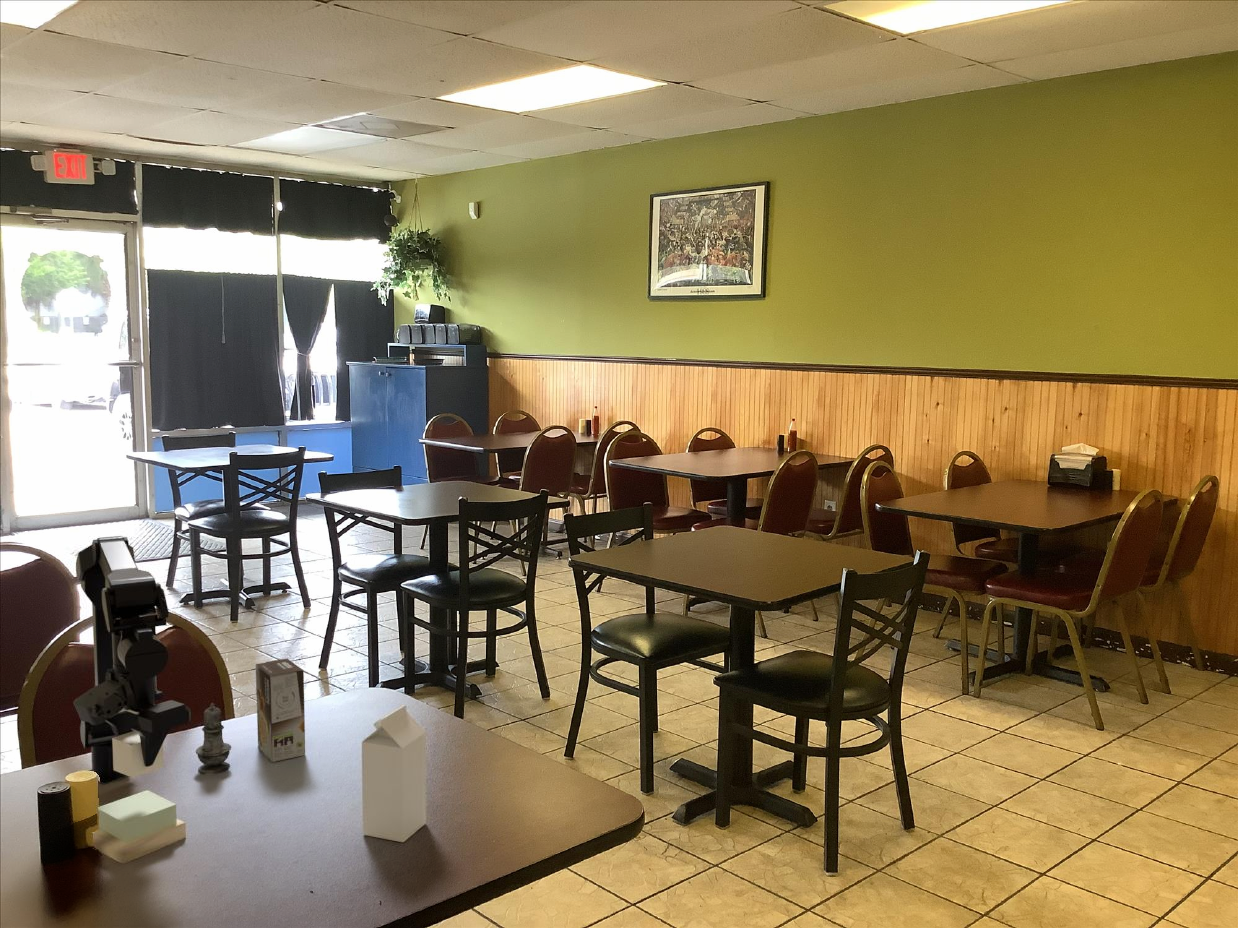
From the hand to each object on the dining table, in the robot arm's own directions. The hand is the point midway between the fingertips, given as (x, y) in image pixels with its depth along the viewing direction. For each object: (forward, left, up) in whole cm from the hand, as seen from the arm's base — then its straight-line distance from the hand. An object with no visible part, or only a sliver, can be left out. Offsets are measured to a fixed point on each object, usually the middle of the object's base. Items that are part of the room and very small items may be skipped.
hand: (138, 761), depth 157 cm
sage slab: (0, -1, -10) cm, 10 cm away
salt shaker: (-14, +22, -12) cm, 29 cm away
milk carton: (+29, +24, -12) cm, 40 cm away
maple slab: (0, -1, -13) cm, 13 cm away
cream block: (0, 0, -1) cm, 1 cm away
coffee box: (-11, +34, -12) cm, 38 cm away
